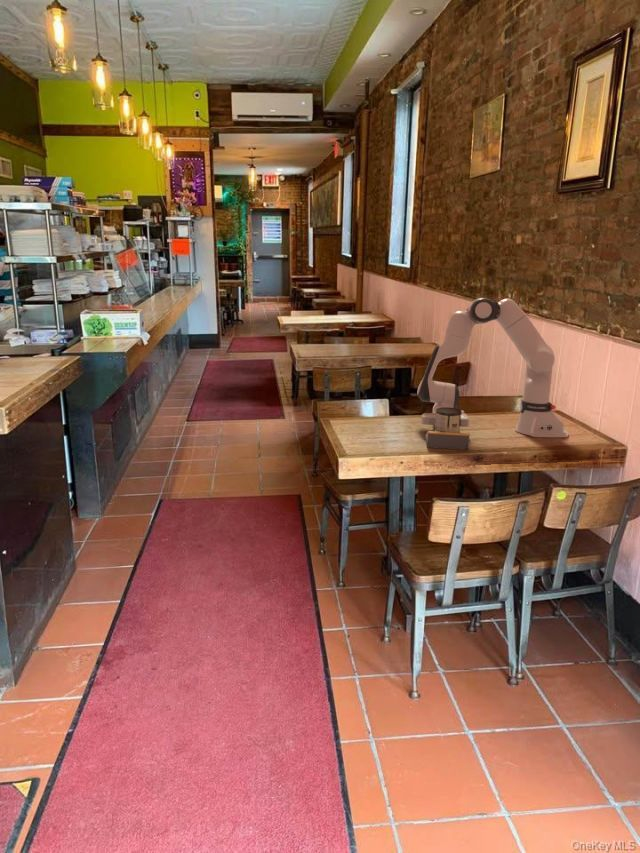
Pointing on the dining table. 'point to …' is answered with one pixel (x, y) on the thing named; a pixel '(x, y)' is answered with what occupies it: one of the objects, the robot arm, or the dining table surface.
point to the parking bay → (447, 440)
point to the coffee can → (447, 420)
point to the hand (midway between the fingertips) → (446, 424)
